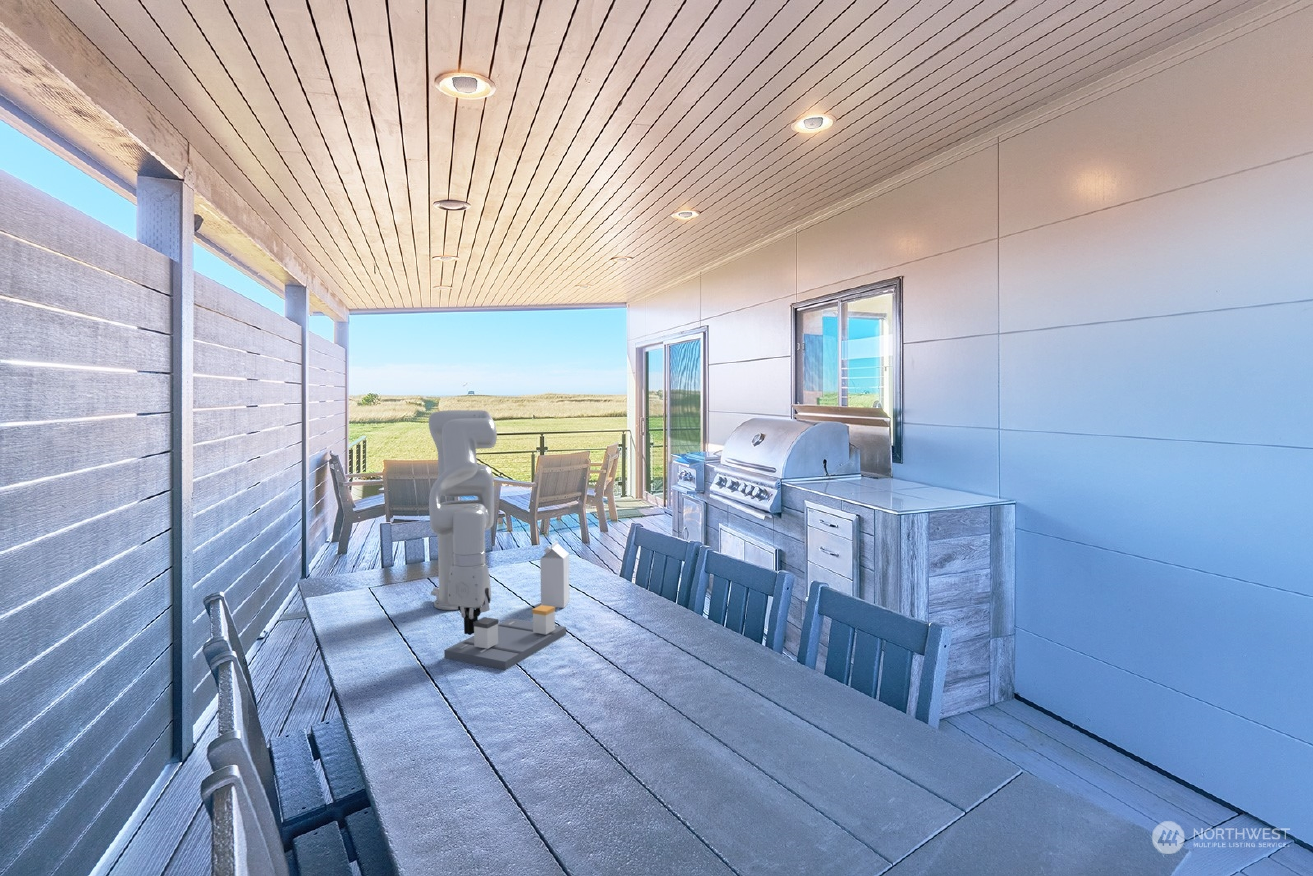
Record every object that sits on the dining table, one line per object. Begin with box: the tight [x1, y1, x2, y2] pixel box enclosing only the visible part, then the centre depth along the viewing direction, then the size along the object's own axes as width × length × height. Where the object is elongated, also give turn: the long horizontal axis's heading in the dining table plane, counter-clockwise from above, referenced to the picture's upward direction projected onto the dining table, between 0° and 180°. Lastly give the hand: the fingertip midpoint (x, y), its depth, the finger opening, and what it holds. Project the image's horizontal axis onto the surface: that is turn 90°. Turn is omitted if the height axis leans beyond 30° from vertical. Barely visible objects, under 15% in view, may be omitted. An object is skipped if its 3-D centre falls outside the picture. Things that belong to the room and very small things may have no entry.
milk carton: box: [539, 539, 570, 609], centre depth 205 cm, size 7×7×19 cm
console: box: [443, 617, 567, 671], centre depth 172 cm, size 18×26×2 cm
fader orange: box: [531, 604, 556, 634], centre depth 175 cm, size 4×4×6 cm
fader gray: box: [473, 616, 499, 649], centre depth 166 cm, size 4×4×6 cm
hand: (471, 632), depth 168 cm, fingers closed
